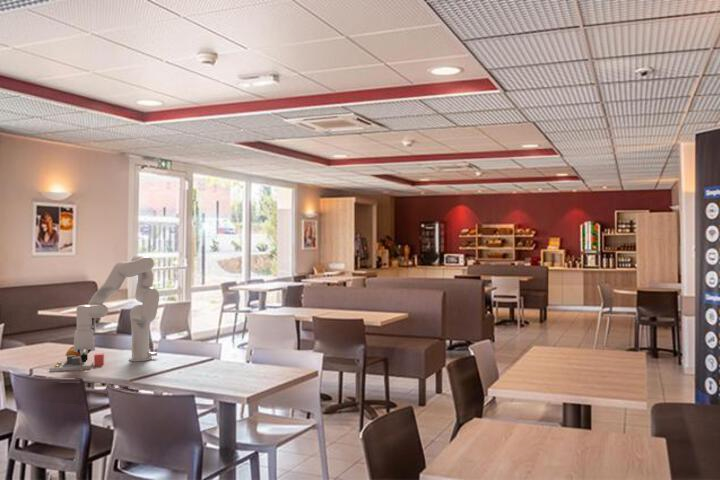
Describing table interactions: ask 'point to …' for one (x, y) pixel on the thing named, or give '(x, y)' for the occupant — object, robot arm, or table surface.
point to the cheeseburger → (73, 352)
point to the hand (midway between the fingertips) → (84, 361)
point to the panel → (70, 366)
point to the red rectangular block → (99, 359)
